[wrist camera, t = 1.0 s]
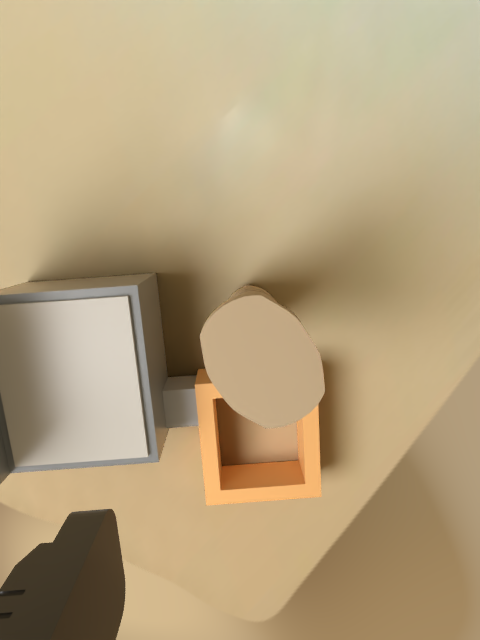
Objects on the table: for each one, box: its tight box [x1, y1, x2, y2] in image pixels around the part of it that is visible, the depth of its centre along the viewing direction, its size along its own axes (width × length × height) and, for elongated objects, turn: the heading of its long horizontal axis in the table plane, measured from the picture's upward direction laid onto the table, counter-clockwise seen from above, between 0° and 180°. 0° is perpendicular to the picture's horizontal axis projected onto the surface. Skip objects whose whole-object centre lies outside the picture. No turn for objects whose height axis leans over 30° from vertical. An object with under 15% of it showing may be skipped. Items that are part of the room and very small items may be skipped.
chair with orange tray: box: [0, 273, 321, 505], centre depth 27 cm, size 18×22×17 cm
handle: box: [200, 285, 325, 428], centre depth 27 cm, size 5×6×15 cm
